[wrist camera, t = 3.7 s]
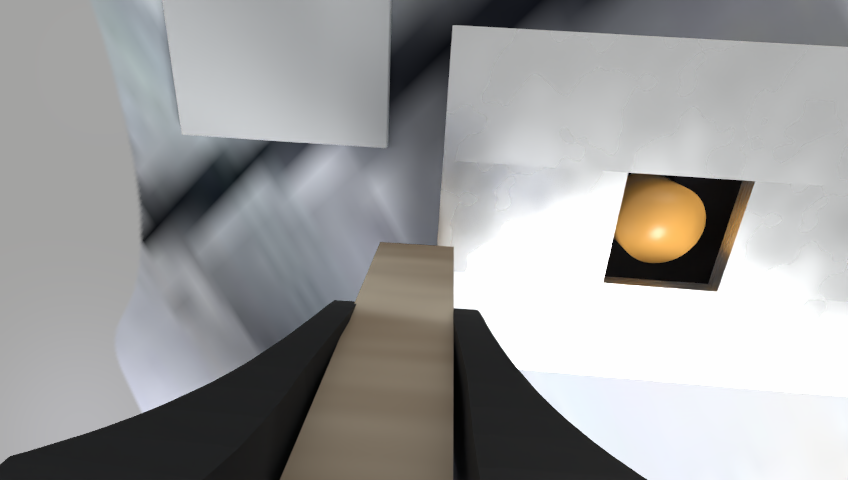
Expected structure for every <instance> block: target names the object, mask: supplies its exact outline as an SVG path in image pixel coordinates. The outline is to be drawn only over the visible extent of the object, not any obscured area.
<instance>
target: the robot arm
mask: <svg viewBox="0 0 848 480" xmlns="http://www.w3.org/2000/svg"><path fill="white" fill-rule="evenodd" d="M354 303H355V302H352V301H337V300H334V301H333V302H332V303H330V304H329V305H327V306H326V307H325V308H324V309H322V310H321V311H320V312H318V313H317V314H316V315H315V316H313V317H312V318H311V319H309V320H308V321H307V322H305V323H304V324H303V325H301V326H300V327H299V328H297V329H296V330H295V331H293V332H292V333H291V334H289V335H288V336H287V337H285V338H284V339H282V340H281V341H279V342H278V343H276V344H275V345H273V346H272V347H270V348H269V349H267V350H266V351H264V352H263V353H261V354H260V355H258V356H257V357H255V358H254V359H252V360H251V361H249V362H247V363H246V364H244V365H242V366H240V367H239V368H237V369H235V370H234V371H232V372H230V373H228V374H226V375H224V376H222V377H221V378H219V379H217V380H215V381H213V382H211V383H209V384H207V385H205V386H203V387H201V388H199V389H197V390H194V391H192V392H190V393H188V394H186V395H183V396H181V397H179V398H177V399H175V400H173V401H170V402H168V403H166V404H164V405H161V406H159V407H157V408H154V409H152V410H149V411H147V412H144V413H142V414H139V415H137V416H134V417H132V418H129V419H126V420H123V421H120V422H118V423H115V424H112V425H110V426H107V427H104V428H101V429H98V430H95V431H92V432H89V433H86V434H83V435H80V436H77V437H73V438H70V439H67V440H64V441H60V442H57V443H54V444H50V445H47V446H44V447H41V448H38V449H34V450H31V451H28V452H24V453H20V454H17V455H13V456H10V457H9V458H7V459H6V460H5V461H4V462H3V463H2V464H0V480H280V478H281V476H282V473H283V471H284V469H285V466H286V464H287V462H288V459H289V457H290V455H291V452H292V450H293V447H294V445H295V443H296V440H297V438H298V436H299V433H300V431H301V429H302V426H303V424H304V421H305V419H306V417H307V414H308V412H309V410H310V407H311V405H312V403H313V400H314V398H315V395H316V393H317V391H318V388H319V386H320V384H321V381H322V379H323V377H324V374H325V372H326V369H327V367H328V365H329V362H330V360H331V358H332V355H333V353H334V350H335V348H336V346H337V343H338V341H339V339H340V337H341V335H342V333H343V331H344V330H345V328H346V326H347V324H348V323H349V321H350V318H351V316H352V313H353V311H354V309H355V306H356V304H354ZM453 330H454V356H453V480H647V479H645V478H644V477H642V476H641V475H639V474H638V473H636V472H635V471H633V470H632V469H630V468H629V467H628V466H626V465H625V464H623V463H622V462H620V461H619V460H617V459H616V458H615V457H613V456H612V455H610V454H609V453H608V452H606V451H605V450H604V449H602V448H601V447H600V446H598V445H597V444H596V443H594V442H593V441H592V440H590V439H589V438H588V437H587V436H586V435H584V434H583V433H582V432H581V431H580V430H578V429H577V428H576V427H575V426H574V425H572V424H571V423H570V422H569V421H568V420H566V419H565V418H564V417H563V416H562V415H561V414H560V413H559V412H557V411H556V410H555V409H554V408H553V407H552V406H551V405H550V404H549V403H548V402H547V401H546V400H545V399H544V398H543V397H542V396H541V395H540V394H539V393H538V392H537V391H536V390H535V388H534V387H533V386H532V385H531V384H530V383H529V382H528V380H527V379H526V378H525V377H524V376H523V374H522V373H521V372H520V371H519V370H518V368H517V367H516V366H515V365H514V363H513V362H512V361H511V359H510V358H509V356H508V355H507V354H506V352H505V351H504V350H503V348H502V347H501V345H500V344H499V342H498V341H497V339H496V338H495V336H494V335H493V333H492V332H491V330H490V328H489V327H488V325H487V323H486V322H485V320H484V318H483V316H482V314H481V313H480V312H479V311H478V310H475V309H459V308H454V310H453Z"/></svg>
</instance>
